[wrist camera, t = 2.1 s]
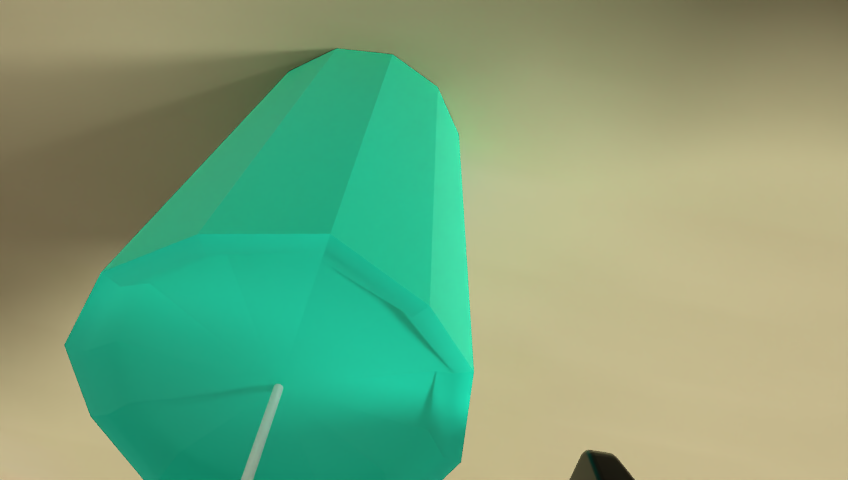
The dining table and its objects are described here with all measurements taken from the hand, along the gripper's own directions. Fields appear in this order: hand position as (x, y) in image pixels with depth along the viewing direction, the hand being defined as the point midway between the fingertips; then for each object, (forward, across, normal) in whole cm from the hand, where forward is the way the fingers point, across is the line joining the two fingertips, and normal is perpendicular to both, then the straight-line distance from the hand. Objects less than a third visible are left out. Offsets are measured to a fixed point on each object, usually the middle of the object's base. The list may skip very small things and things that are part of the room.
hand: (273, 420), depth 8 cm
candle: (+11, 0, 0) cm, 11 cm away
